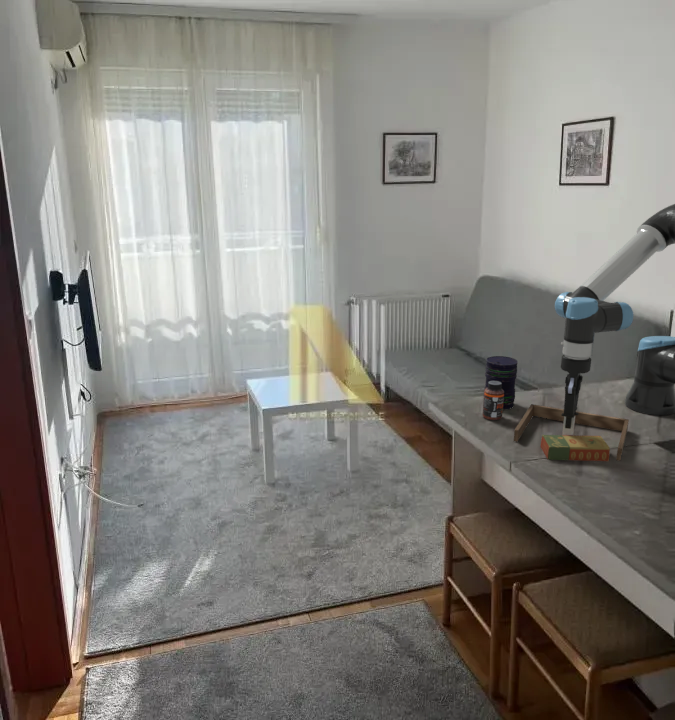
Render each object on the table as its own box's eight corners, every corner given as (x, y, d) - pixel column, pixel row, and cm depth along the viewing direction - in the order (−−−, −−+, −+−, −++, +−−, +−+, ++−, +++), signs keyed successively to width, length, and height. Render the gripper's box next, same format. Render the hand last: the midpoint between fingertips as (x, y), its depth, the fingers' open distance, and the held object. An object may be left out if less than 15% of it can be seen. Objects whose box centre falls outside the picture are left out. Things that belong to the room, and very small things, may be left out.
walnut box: (627, 430, 198) (628, 419, 197) (620, 460, 178) (621, 448, 177) (530, 414, 210) (531, 404, 209) (513, 441, 190) (514, 429, 189)
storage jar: (491, 397, 225) (495, 354, 221) (519, 403, 219) (523, 359, 215) (477, 405, 218) (480, 361, 213) (505, 412, 212) (509, 367, 207)
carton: (608, 462, 178) (610, 447, 177) (547, 460, 179) (548, 446, 178) (599, 449, 186) (601, 434, 185) (540, 447, 187) (541, 433, 186)
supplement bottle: (498, 422, 204) (501, 386, 200) (479, 418, 207) (482, 383, 203) (504, 416, 209) (507, 381, 205) (485, 412, 212) (488, 378, 208)
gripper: (566, 348, 187) (557, 427, 194) (557, 360, 176) (548, 443, 183) (594, 351, 184) (584, 432, 191) (588, 364, 173) (577, 448, 179)
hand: (567, 437), depth 187 cm, fingers closed
